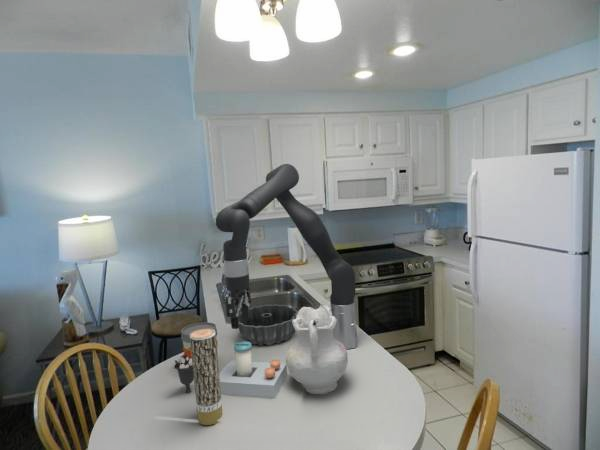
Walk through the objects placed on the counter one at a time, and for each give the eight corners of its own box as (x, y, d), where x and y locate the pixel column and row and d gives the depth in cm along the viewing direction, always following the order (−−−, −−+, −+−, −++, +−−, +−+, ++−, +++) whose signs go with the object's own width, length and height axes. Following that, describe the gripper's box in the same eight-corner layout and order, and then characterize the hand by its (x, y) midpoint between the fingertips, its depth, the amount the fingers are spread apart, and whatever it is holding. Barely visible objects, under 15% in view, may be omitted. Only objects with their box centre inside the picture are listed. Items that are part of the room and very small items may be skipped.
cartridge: (256, 379, 129) (253, 339, 127) (250, 388, 123) (247, 347, 122) (240, 378, 130) (237, 339, 128) (234, 387, 124) (230, 346, 123)
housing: (287, 378, 131) (286, 363, 130) (275, 401, 117) (273, 385, 116) (231, 374, 135) (230, 360, 135) (213, 396, 122) (212, 381, 121)
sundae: (203, 390, 126) (199, 345, 124) (191, 401, 120) (186, 354, 118) (186, 388, 128) (181, 344, 126) (173, 399, 122) (168, 352, 120)
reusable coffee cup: (227, 363, 144) (223, 323, 143) (205, 379, 133) (201, 337, 131) (199, 358, 150) (196, 320, 148) (176, 374, 138) (172, 333, 137)
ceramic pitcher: (357, 404, 115) (359, 321, 112) (291, 409, 112) (292, 324, 109) (338, 370, 136) (339, 300, 134) (282, 374, 133) (282, 302, 130)
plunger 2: (281, 371, 128) (281, 359, 127) (279, 376, 125) (278, 364, 124) (272, 371, 129) (271, 359, 128) (269, 375, 125) (268, 364, 125)
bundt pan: (271, 356, 148) (269, 330, 147) (223, 342, 164) (221, 319, 163) (311, 332, 169) (310, 309, 168) (266, 322, 185) (264, 301, 184)
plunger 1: (277, 380, 122) (276, 367, 122) (273, 385, 119) (273, 372, 119) (267, 379, 123) (266, 367, 123) (263, 384, 120) (263, 372, 120)
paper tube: (200, 413, 113) (192, 329, 110) (224, 410, 114) (216, 327, 111) (196, 427, 106) (187, 339, 104) (221, 425, 107) (213, 337, 104)
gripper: (239, 279, 115) (243, 332, 117) (255, 268, 129) (259, 315, 130) (215, 279, 117) (220, 331, 118) (234, 268, 130) (238, 315, 132)
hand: (240, 323), depth 124 cm, fingers open, 8 cm apart
